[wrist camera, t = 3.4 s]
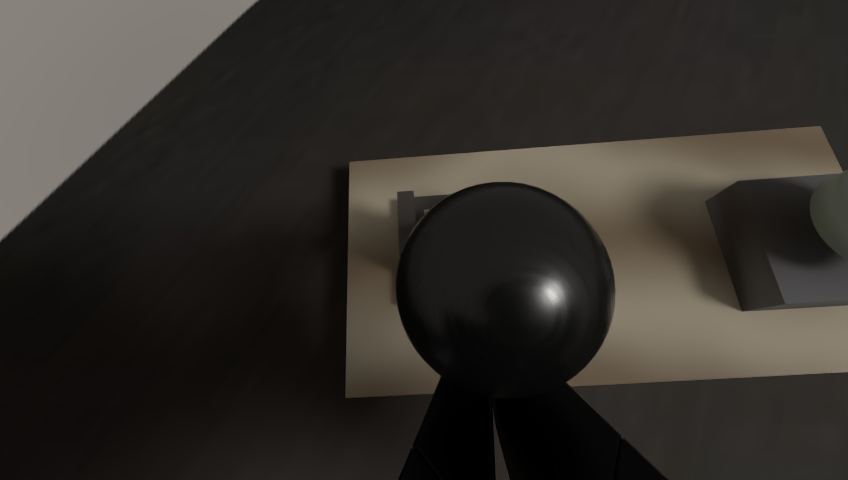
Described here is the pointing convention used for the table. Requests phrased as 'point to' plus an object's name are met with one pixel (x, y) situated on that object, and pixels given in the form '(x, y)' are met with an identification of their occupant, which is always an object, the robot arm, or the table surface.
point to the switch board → (634, 255)
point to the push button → (832, 212)
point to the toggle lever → (505, 290)
